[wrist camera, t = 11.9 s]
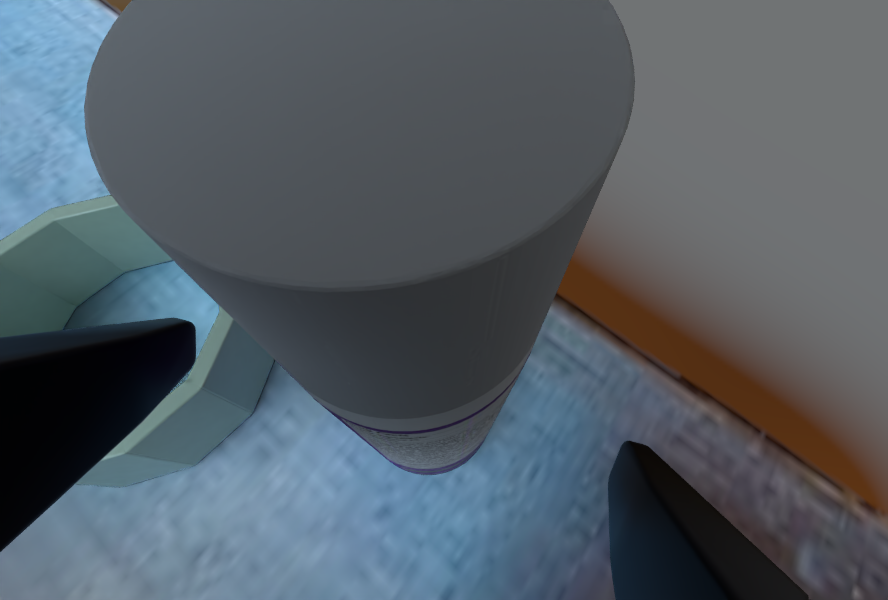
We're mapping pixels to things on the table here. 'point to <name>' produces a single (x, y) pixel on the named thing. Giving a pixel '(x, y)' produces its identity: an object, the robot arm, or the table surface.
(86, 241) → the pale green faceted ring
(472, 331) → the container
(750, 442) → the table surface
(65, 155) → the table surface
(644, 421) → the table surface
